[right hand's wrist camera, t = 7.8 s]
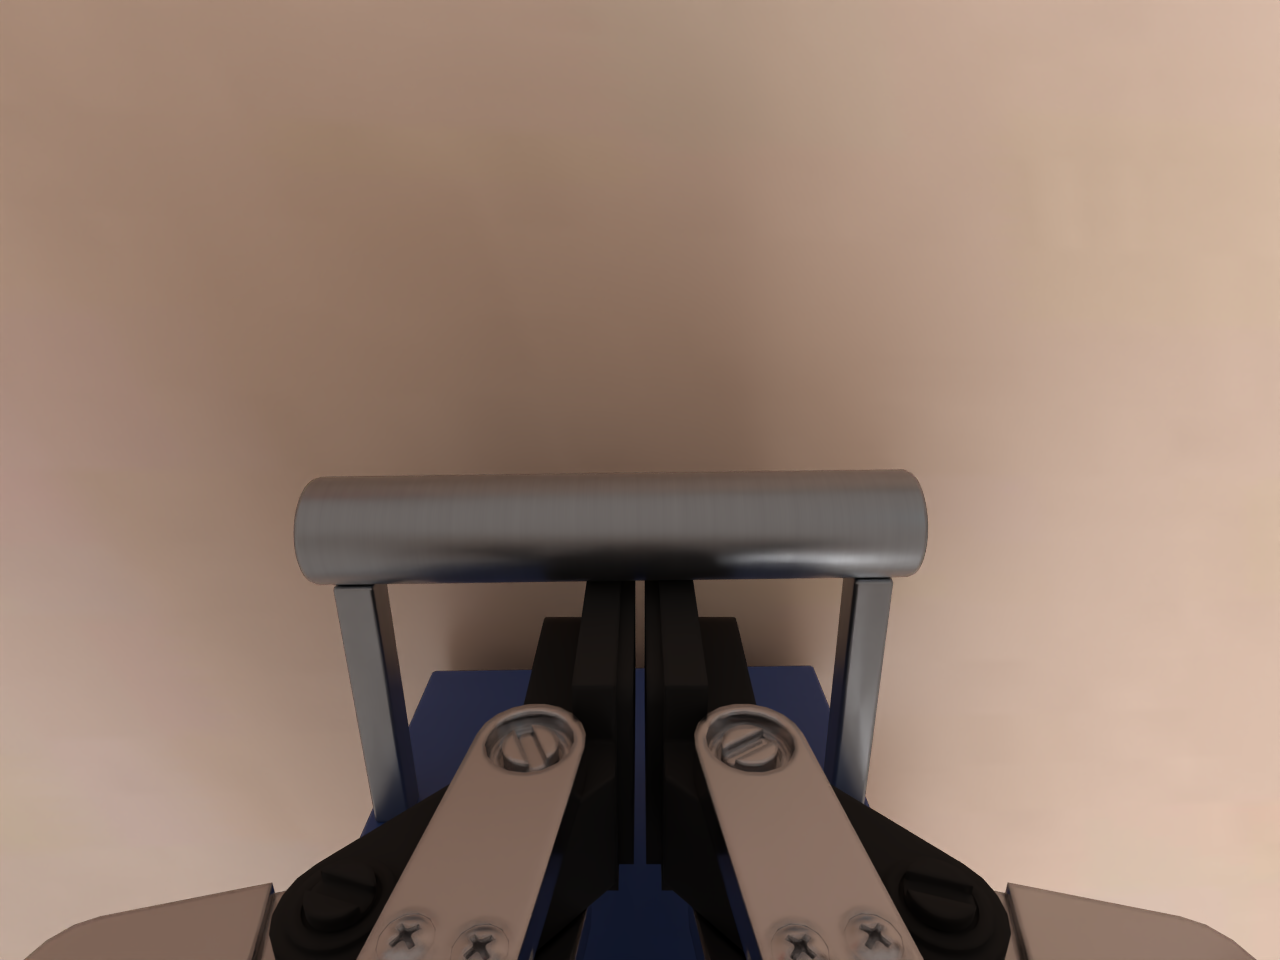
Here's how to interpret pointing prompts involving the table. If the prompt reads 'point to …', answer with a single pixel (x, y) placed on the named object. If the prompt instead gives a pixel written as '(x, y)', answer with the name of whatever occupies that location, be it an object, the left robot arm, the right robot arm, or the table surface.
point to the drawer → (606, 551)
